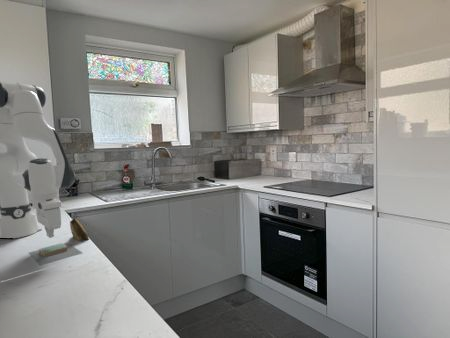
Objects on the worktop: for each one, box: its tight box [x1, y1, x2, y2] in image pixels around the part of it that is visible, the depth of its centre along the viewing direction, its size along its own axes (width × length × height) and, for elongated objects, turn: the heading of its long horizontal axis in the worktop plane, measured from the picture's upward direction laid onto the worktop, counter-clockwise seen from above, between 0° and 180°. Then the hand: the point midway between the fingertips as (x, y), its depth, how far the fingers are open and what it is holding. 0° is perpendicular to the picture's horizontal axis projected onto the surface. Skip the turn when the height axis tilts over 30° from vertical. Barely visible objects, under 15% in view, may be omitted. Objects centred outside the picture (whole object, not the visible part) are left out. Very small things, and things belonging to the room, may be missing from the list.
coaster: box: [38, 243, 67, 257], centre depth 121 cm, size 2×8×7 cm
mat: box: [28, 242, 83, 266], centre depth 120 cm, size 19×14×1 cm
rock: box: [69, 217, 90, 242], centre depth 137 cm, size 11×9×10 cm
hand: (50, 236), depth 122 cm, fingers closed
